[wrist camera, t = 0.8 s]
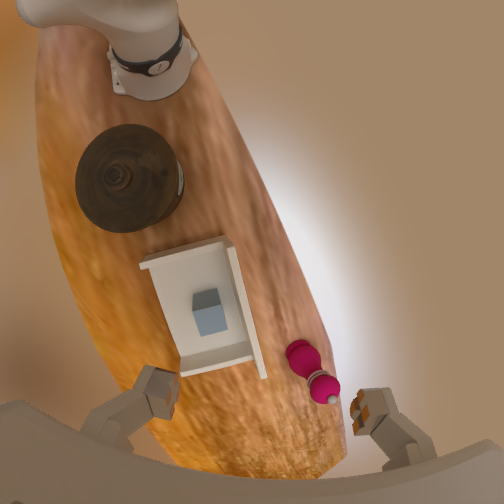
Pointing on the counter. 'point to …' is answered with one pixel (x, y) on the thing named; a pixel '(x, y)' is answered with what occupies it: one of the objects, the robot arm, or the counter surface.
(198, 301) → the block
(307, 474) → the counter surface
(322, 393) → the pepper mill
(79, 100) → the counter surface
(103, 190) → the wooden container
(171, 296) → the open box
